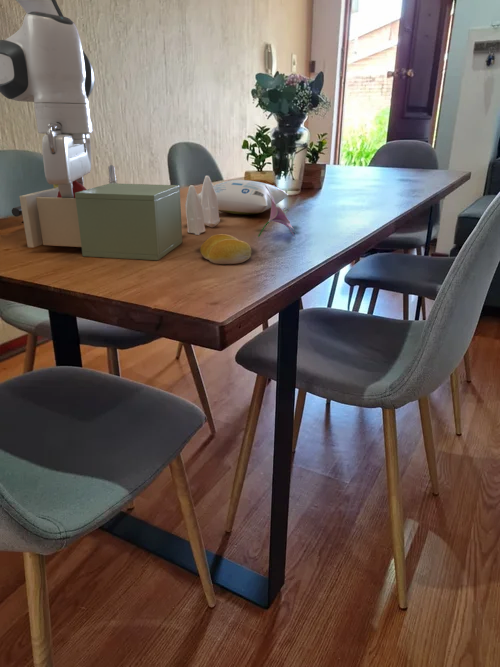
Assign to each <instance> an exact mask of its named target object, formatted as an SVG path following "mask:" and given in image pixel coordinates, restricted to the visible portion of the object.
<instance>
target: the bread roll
mask: <svg viewBox="0 0 500 667" xmlns="http://www.w3.org/2000/svg"><path fill="white" fill-rule="evenodd" d="M199 251H200V254H201V256H202V257H203V258H204V259H205V260H208V261H209V262H211V263H213V264H216V265H238V264H242V263H244V262H246V261H248V260H249V259H250V258H251V257H252V248H251V246H250V244H249V243H248V242H246V241H244V240H241V239H238V238H236V237H235V236H233V235H230V234H226V233H218V234H213V235H211V236H209V237H208V238H207V239H206V240H205V241H203V243H202V244H201V245H200V248H199Z"/></svg>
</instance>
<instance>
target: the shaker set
mask: <svg viewBox="0 0 500 667" xmlns="http://www.w3.org/2000/svg"><path fill="white" fill-rule="evenodd" d="M203 178H204V179H203V182H202V187H201V191H200V192H201V202H200V199H199V197H198V193H197V189H196V187H195V186H194V185H193V184H190V185H189V186H188V190H187V194H186V199H185V206H184V207H185V216H186V226H187V227H186V228H187V230H186V232H187V233H189V234H194V235H195V236H199V235H200V234H202V233H205V232H206V226H207V227H209V228H215V227H216V226H217V225H219V223H220V221H221V218H220V211H218V200H217V195H216V192H215V190H214V187H213V186H214V184H213V181H212V180H211V177H210V175H205V176H204V177H203Z"/></svg>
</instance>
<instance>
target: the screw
mask: <svg viewBox="0 0 500 667" xmlns="http://www.w3.org/2000/svg"><path fill="white" fill-rule="evenodd" d="M107 170H108V184H110V183H116V184H118V182H117V181H118V180H117V176H116V169H115V166H114V165H112V164H110V165H108V169H107Z"/></svg>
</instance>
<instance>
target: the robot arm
mask: <svg viewBox="0 0 500 667" xmlns="http://www.w3.org/2000/svg"><path fill="white" fill-rule="evenodd" d="M15 1H16V2H17V4H18V5H19V6H21V7H22V9H23V10H24V12H25V15H24V17H23V21H22V25H21V26H20V28H19V29H18V30H17V31H16V32H15V33H13V34H12V35H10V36H8V37H7V38H6V39H0V94H1V96H3V97H5V98H6V99H8V100H13V101H14V102H15V101H17V102H24V103H26V102H27V103H33V106H34V107H33V108H34V114H35V120H36V128H37V133H38V134H44V135H43V136H42V140H41V149H42V161H43V171H44V177H45V180H46V182H47V184H48V185H53V184H58V188H59V191H60V194H61V196H62V198H75V197H74V196H73V190H72V188H73V184H72V182H73V181H75V180H76V181H77V182H78V183H80V184H81V185H83V186H84V184H85V179H84V177H85V176H87V175H88V174H90V173H91V170H92V144H91V142H92V141H91V135H90V134H91V133H93V122H92V119H91V110H90V101H89V97H90V96H91V94H92V92H93V90H94V87H95V86H94V85H95V74H94V69H93V68H94V67H93V65H92V63H91V61H90V59H89V57H88V56H87V54H86V53H85V51H84V49H83V44H82V41H81V40H82V39H81V37H80V34H79V30H78V27H77V24H76V23H75V22H74V21H73V20H72V19H70V18H69V17H67V16H64V15H63V12H62V11H61V9H60V7H59V4H58V1H57V0H15ZM84 187H85V186H84Z"/></svg>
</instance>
